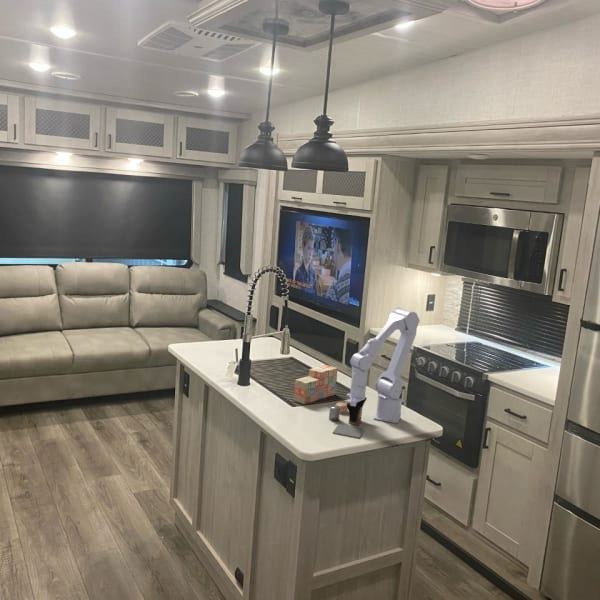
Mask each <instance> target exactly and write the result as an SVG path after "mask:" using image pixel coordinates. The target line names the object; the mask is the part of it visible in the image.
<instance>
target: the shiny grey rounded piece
mask: <svg viewBox="0 0 600 600" xmlns="http://www.w3.org/2000/svg"><path fill="white" fill-rule="evenodd" d="M328 414H329V416H328V420H329V421H331V422H334V423H335V422H336V423H337V422H339V421H340V417H341V416H340V415H341V414H340V407H339V406H336V405H329V413H328Z"/></svg>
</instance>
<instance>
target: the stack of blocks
mask: <svg viewBox="0 0 600 600" xmlns="http://www.w3.org/2000/svg"><path fill="white" fill-rule="evenodd" d="M338 370H339V369H338V367H335V366H331V365H328V364H325V365H320V366H317V367H313V368H309V370H308V371H309V374H308V376H304V377H300V378H297V379H295V380H294V387H293V388H294V390H293V401H294V402H298V403H300V404H303V405H307V404H309V403H310V404H311V403H313V402H316V401H319V400H322V399H327V398H328V397H331V396H332V397H333V396H334V395H336V390H337V388H336V387H337V380H338Z"/></svg>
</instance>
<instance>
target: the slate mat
mask: <svg viewBox="0 0 600 600" xmlns="http://www.w3.org/2000/svg"><path fill="white" fill-rule="evenodd" d="M365 430H366V428H365V427H362V426H358V425H353V424H345V423H340V422H338V424H337V425H336V427H335V428H334V429H333V431H332V434H334V435H338V436H339V435H340V436H344V437H350V438H353V439H354V438H355V439H360V438H361V437H362V436H363V433H364V432H365Z"/></svg>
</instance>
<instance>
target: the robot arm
mask: <svg viewBox="0 0 600 600" xmlns="http://www.w3.org/2000/svg"><path fill="white" fill-rule="evenodd" d="M420 321H421V320H420V318H419V315H418V314H417V313H416V311H410V310H407V309H403V308H401V307H396V308H394V309H393V310H392V312H391V313H390V314H389V317H388V320H387V322H386V323H385V324H384V325H383V327H382V329H381V330H380V331H379V332H378V333H377V335H376V336H375V337H372V338H371V337H370V338H369V339H368V340H367V341H366V343H365V345H364V346H363V347H362V348H361V349H360V350H359V351H358V352H356V353H354V354H353V355H352V356H351V358H350V360H349V363H350V366H351V370H352V373H351V380H350V381H351V382H350V390H349V391H350V393H349V392H347V394H346V397H349V400H350V402H347V403H346V404H347V408H348V415H349V416H350V422H356V420H357V417H358V413H359V410H360V408H361V407H362V409H363V407H364V404H365V403H366V401H367V398H368V397H366V391H367V390H366V389H367V380H368V371H369V369H370V368H371V367H372V365H373V362H374V359H375V358H376V356H377V355H378V354H379V353H380V351H381V350H382V349H383V344H384V342H386V341H387V340H388V338H390V337H391V336H392V335H393V333H394V332H396V330H397V331H398V330H399V332H400V336H399V339H398V341H397V344H396V347H395V350H394V351H393V354H392V358H391V360H390V362H389V364H388V366H387V370H385V371H384V372H382V373H381V374H380V376H379V377H378V379H377V380H376V382H375V384H374V385H375V390H376V391H377V395H378V398H377V406H376V413H375V415H374V417H373V420H377V421H383V422H387V423H392V424H393V423H394V424H398V423H399V421H400V419H401V415H402V406H403V405H402V402H403V400H402V398H399V397H400V396H401V394H402V390H403V384H404V382H403V379H402V377H401V375H402V372H403V370H404V367H405V364H406V361H407V360H408V356H409V354H410V352H411V350H412V349H411V348H412V346H413V344H414V340H415V339H416V335H417V331H418V330H417V328H418V326H419V323H420Z"/></svg>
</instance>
